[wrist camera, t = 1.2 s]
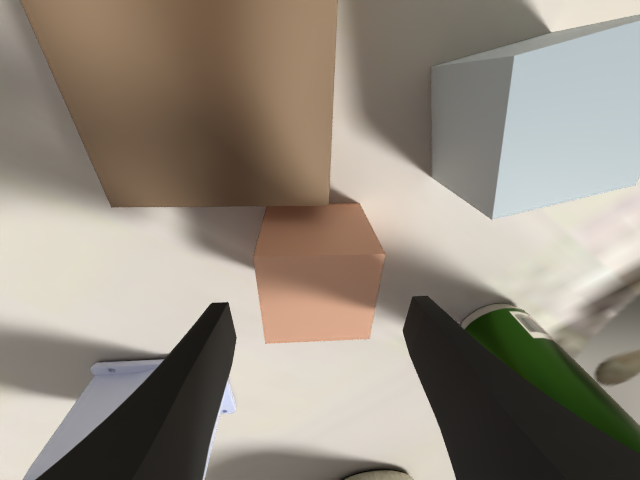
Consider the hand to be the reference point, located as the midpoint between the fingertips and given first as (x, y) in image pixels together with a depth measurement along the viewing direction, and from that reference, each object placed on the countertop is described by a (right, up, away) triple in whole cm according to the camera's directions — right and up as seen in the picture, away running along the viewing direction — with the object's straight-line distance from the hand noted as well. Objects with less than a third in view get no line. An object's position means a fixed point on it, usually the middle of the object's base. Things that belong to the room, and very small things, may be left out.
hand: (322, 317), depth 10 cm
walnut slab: (-4, +10, 0) cm, 11 cm away
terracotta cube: (0, +3, +5) cm, 6 cm away
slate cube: (+8, +9, +2) cm, 12 cm away
